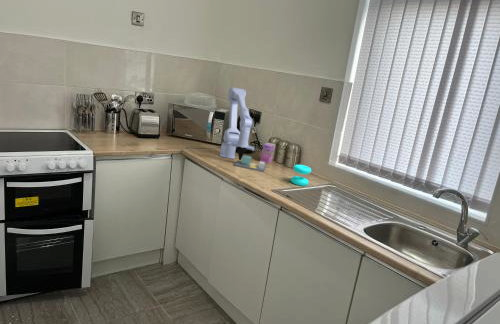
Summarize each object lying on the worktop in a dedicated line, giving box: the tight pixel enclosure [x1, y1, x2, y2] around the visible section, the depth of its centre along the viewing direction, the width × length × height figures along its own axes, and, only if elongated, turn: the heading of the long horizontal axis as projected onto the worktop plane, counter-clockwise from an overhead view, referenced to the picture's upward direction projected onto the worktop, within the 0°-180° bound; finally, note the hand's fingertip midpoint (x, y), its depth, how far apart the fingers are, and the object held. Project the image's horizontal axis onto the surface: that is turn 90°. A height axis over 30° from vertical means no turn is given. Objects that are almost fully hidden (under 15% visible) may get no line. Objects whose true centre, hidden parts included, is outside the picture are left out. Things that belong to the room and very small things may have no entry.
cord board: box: [234, 159, 267, 173], centre depth 232 cm, size 18×12×4 cm, turn 83°
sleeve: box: [241, 154, 252, 164], centre depth 232 cm, size 5×5×4 cm
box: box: [259, 142, 277, 165], centre depth 253 cm, size 10×6×12 cm, turn 161°
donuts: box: [290, 164, 312, 187], centre depth 214 cm, size 10×10×10 cm
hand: (239, 159), depth 232 cm, fingers closed
